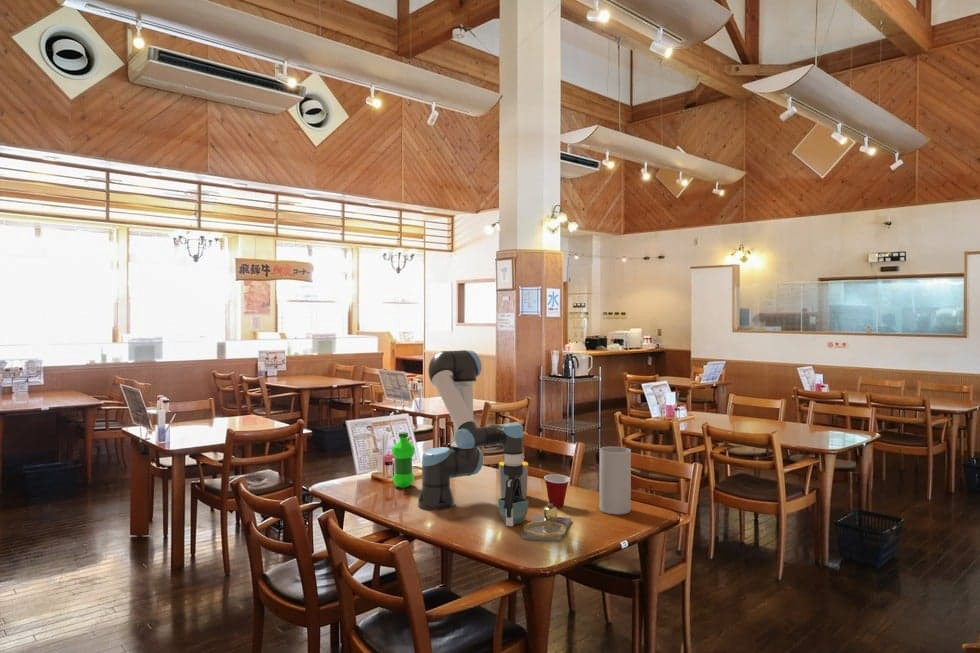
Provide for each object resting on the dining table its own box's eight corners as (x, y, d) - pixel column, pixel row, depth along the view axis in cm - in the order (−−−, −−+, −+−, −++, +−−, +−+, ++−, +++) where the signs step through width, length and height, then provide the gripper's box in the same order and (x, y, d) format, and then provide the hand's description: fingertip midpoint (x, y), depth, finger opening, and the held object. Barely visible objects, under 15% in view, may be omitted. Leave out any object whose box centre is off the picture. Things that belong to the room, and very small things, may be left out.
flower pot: (514, 517, 253) (514, 495, 253) (529, 523, 246) (529, 499, 246) (497, 522, 247) (497, 498, 247) (512, 527, 241) (512, 503, 241)
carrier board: (519, 538, 229) (519, 516, 229) (534, 518, 253) (534, 498, 253) (561, 542, 225) (561, 520, 224) (572, 521, 249) (572, 501, 248)
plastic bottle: (397, 490, 295) (397, 435, 295) (389, 485, 304) (389, 432, 304) (417, 487, 300) (417, 433, 300) (409, 482, 309) (408, 430, 309)
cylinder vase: (596, 506, 268) (596, 446, 268) (625, 505, 269) (625, 446, 269) (604, 515, 256) (604, 452, 256) (634, 514, 257) (634, 452, 257)
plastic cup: (556, 511, 262) (556, 481, 262) (538, 505, 270) (538, 476, 270) (575, 506, 268) (575, 478, 268) (557, 500, 277) (557, 473, 277)
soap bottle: (494, 499, 280) (494, 450, 280) (503, 491, 292) (503, 445, 292) (523, 501, 276) (523, 452, 276) (531, 494, 288) (531, 446, 288)
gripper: (515, 471, 234) (515, 531, 234) (529, 458, 257) (529, 512, 257) (495, 470, 236) (495, 529, 237) (511, 457, 259) (511, 511, 259)
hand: (513, 520), depth 247 cm, fingers closed on flower pot, 11 cm apart
